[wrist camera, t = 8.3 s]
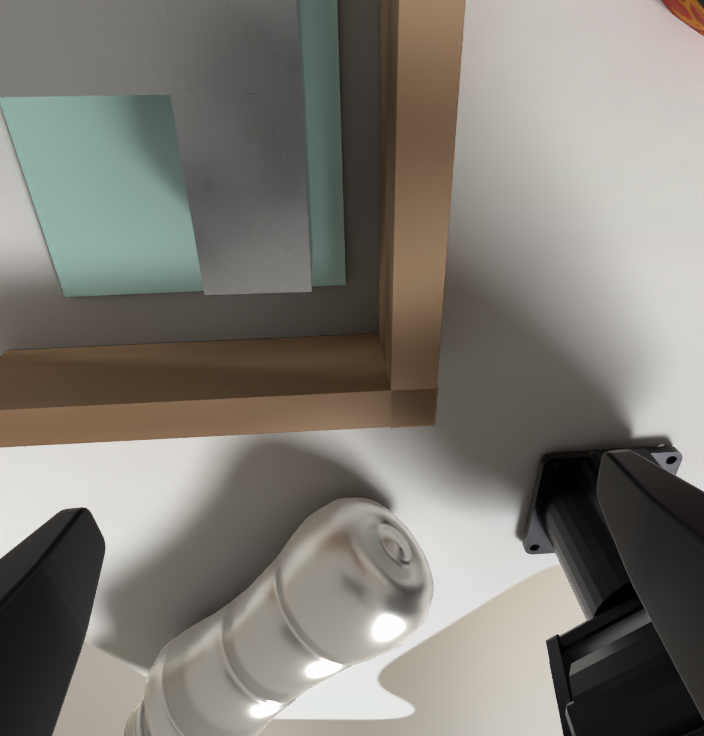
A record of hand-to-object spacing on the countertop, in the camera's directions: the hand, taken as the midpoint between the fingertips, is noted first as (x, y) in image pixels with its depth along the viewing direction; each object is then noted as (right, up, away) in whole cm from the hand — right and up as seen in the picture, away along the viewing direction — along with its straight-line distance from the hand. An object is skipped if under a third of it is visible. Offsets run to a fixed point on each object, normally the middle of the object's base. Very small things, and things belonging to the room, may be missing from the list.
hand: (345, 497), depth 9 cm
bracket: (-5, +10, +7) cm, 13 cm away
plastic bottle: (+2, -5, +13) cm, 14 cm away
